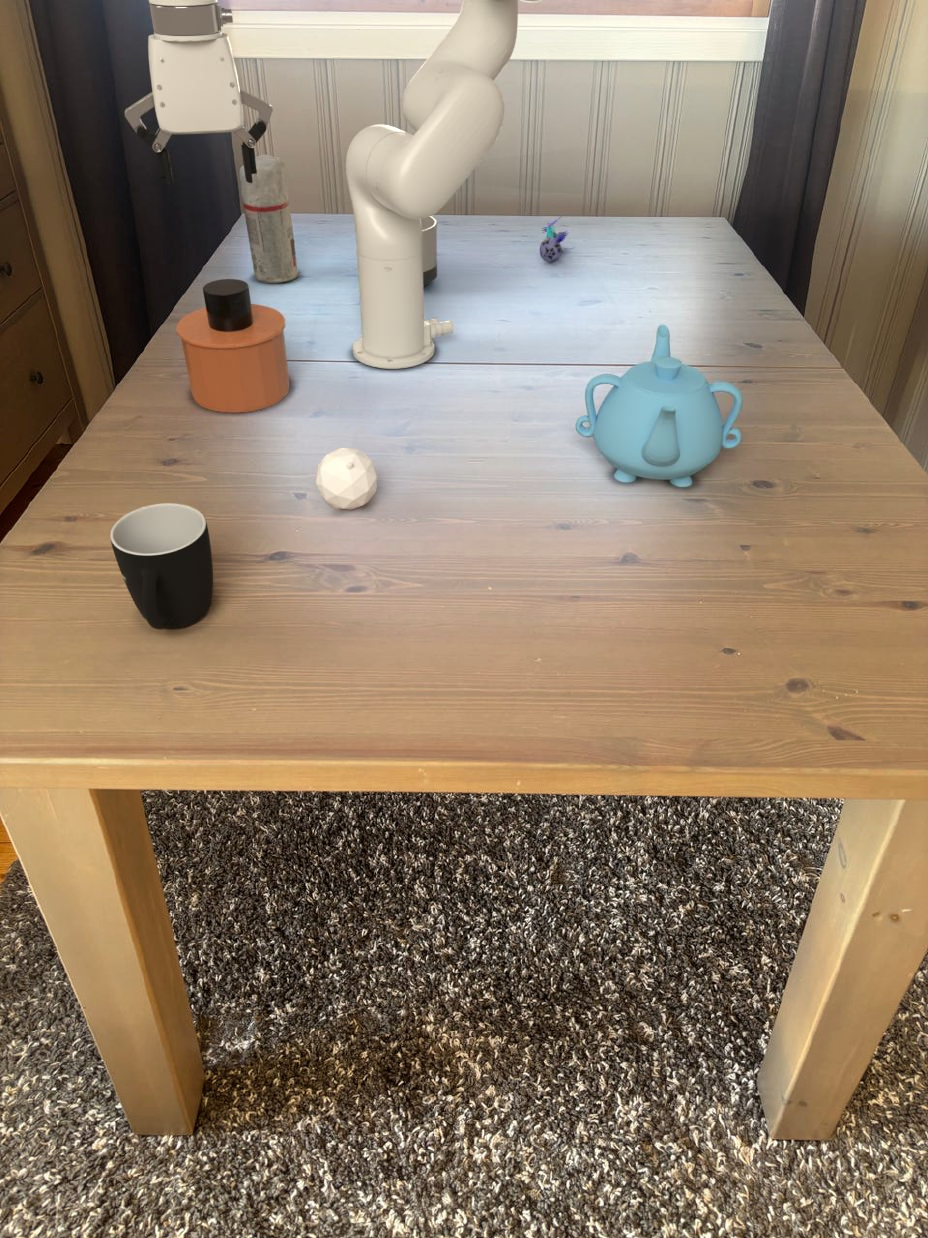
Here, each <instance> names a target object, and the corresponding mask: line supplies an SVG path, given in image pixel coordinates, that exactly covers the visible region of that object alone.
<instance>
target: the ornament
mask: <svg viewBox="0 0 928 1238" xmlns="http://www.w3.org/2000/svg"><path fill="white" fill-rule="evenodd" d="M378 478H379V473H378V471H377V469H376V467H375V465H374V463H373V460H372V459H370V458H369V456H367V455H366V454H365V453H364V451H362V450H361V449H358V448H351V447H345V446H344V447H343V446H342V447H340V448H338V449H335V450H333V451H331V452H329V453H327V454H325V455H324V457H323V458H322V460H320V462H319V463H318V465H317V469H316V477H315V485H316V488H317V489H318V491H319V492H320V494H321V497H322V498H323V499H324V500H325V502H327V503H328V504H329V505H330V506H331V507H333V508H334V509H340V510H341V509H342V510H351V511H352V510H355V509H357V508H360V507H363V506H364V505H366V504H368V502H369V501H370V500H371V499H372V497H374V495H375V494H376V493H377V487H378Z"/></svg>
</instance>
